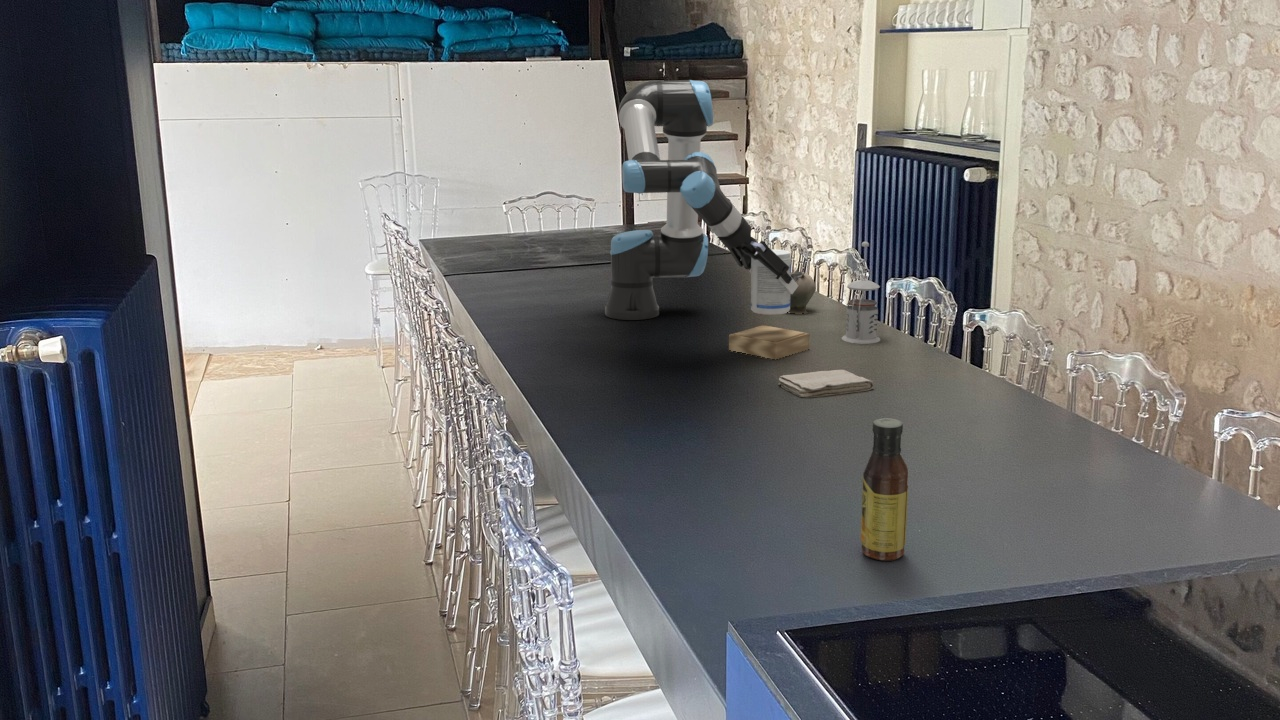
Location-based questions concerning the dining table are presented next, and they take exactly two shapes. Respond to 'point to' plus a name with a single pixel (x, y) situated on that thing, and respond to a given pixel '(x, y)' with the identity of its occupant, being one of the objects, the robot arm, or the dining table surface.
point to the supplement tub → (769, 287)
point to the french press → (861, 313)
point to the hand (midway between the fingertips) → (780, 286)
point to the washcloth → (824, 383)
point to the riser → (769, 342)
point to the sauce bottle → (885, 494)
